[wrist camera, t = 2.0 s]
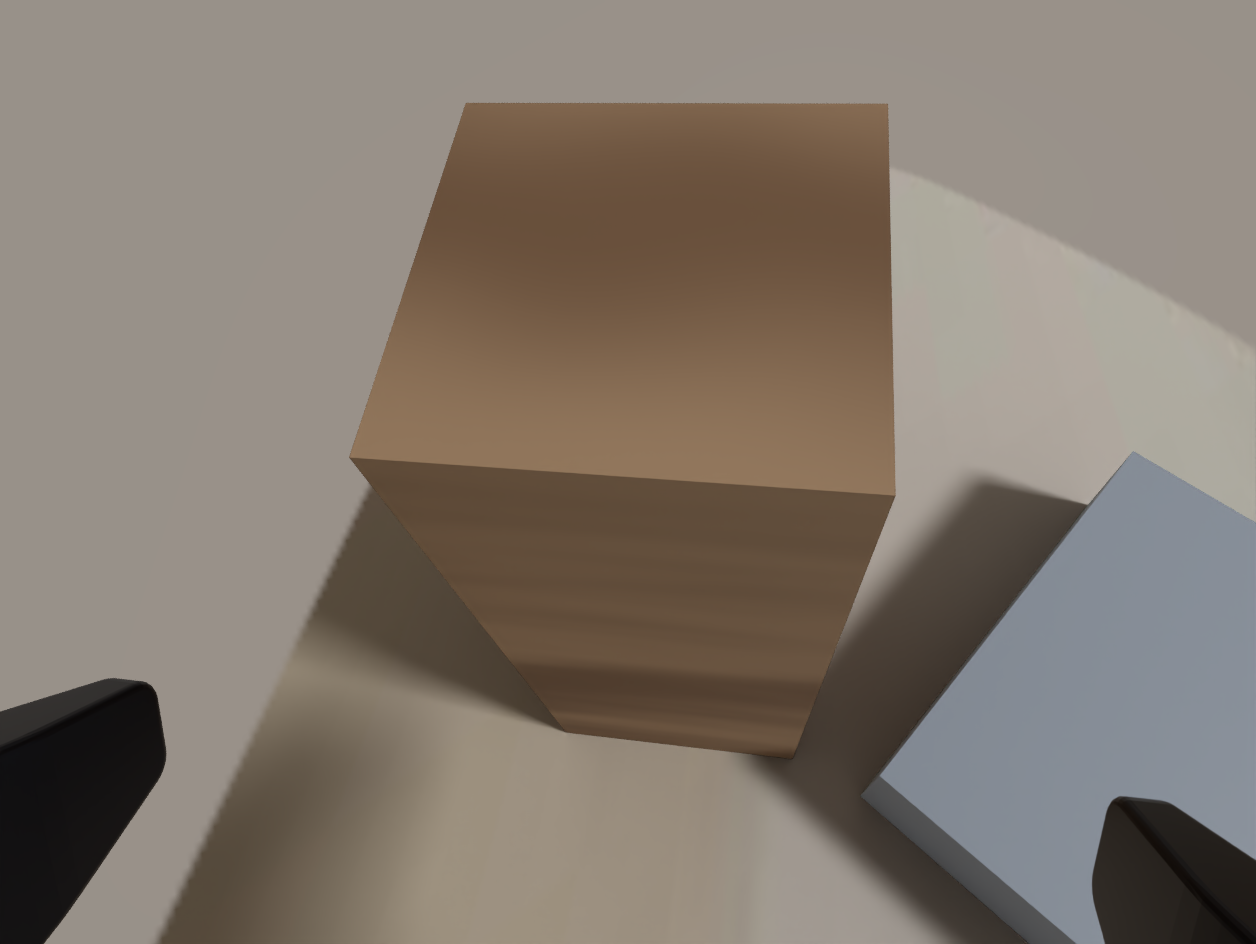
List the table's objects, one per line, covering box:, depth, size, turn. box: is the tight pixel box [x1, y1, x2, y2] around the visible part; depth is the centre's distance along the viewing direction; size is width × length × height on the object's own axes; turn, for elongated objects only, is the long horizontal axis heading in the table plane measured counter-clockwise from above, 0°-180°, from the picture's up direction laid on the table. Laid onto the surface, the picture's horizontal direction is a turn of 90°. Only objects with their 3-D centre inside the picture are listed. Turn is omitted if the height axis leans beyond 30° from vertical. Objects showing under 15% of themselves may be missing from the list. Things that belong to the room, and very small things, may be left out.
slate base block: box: [860, 451, 1256, 944], centre depth 16 cm, size 9×9×3 cm
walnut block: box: [349, 103, 896, 759], centre depth 14 cm, size 5×5×12 cm
